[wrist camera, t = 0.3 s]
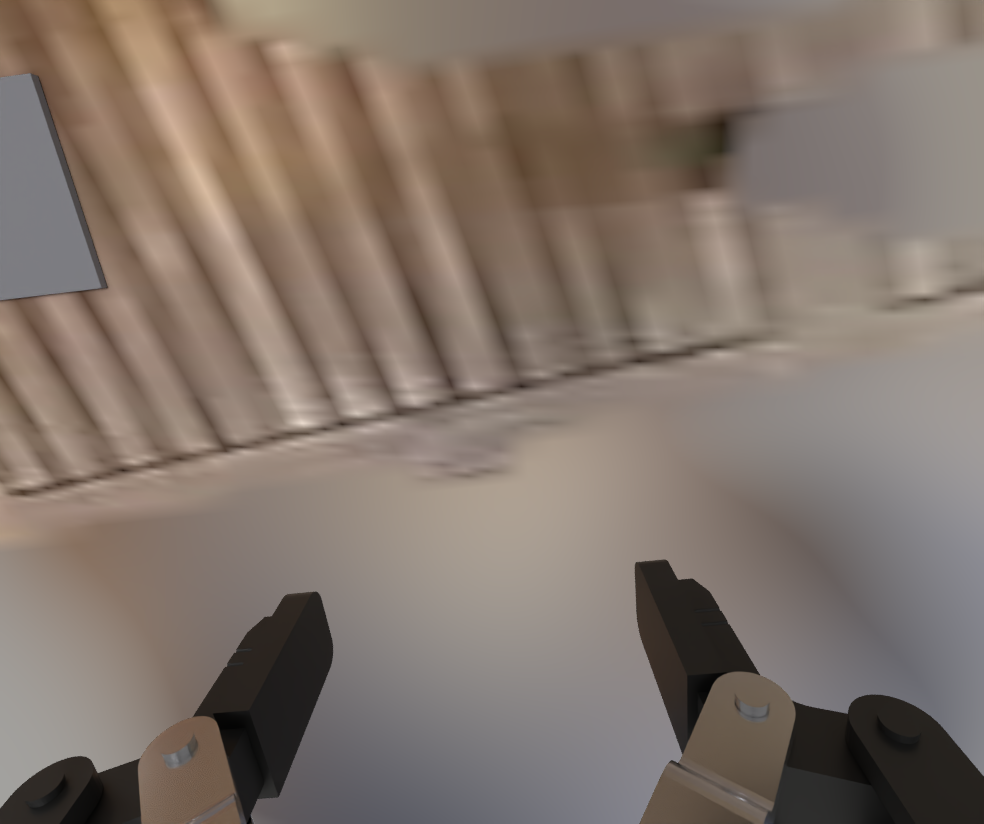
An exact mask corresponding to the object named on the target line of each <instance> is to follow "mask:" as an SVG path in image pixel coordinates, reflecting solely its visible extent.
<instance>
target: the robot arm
mask: <svg viewBox="0 0 984 824" xmlns="http://www.w3.org/2000/svg"><path fill="white" fill-rule="evenodd" d="M635 584H636V585H635V587H636V609H637V610H636V612H637V622H638V628H639V633H640V636H641V640H642V643H643V646H644V649H645V651H646V654H647V657H648V660H649V663H650V665H651V668H652V671H653V674H654V676H655V679H656V682H657V685H658V688H659V690H660V693H661V696H662V699H663V701H664V704H665V707H666V710H667V713H668V715H669V718H670V721H671V724H672V726H673V729H674V732H675V735H676V738H677V741H678V743H679V746H680V749H681V752H682V754H683V755H682V757H681V759H680V761H679V762H678V763H676V762H675V761H670V762H669V763H668V764H667V765H666V767H665V769H664V771H663V773H662V775H661V777H660V779H659V781H658V784H657V786H656V788H655V790H654V792H653V795H652V797H651V799H650V801H649V803H648V806H647V808H646V810H645V812H644V814H643V817H642V819H641V821H640V824H984V776H983V775H982V774H981V773H980V772H979V771H978V769H977V768H976V767H975V766H974V765H973V763H972V762H971V761H970V760H969V758H968V757H967V756H966V755H965V754H964V753H963V751H962V750H961V749H960V748H959V747H958V746H957V744H956V743H955V742H954V741H953V740H952V738H951V737H950V736H949V735H948V734H947V732H946V731H945V730H944V729H943V728H942V727H941V726H940V724H938V722H937V721H935V720H934V719H933V718H932V717H931V716H929V715H928V714H927V713H925V712H924V711H922V710H921V709H919V708H917V707H915V706H914V705H912V704H909V703H907V702H905V701H902V700H900V699H897V698H893V697H889V696H884V695H865V696H862V697H859V698H857V699H855V700H854V701H853V702H852V703H851V705H850V707H849V710H848V714H845V713H840V712H834V711H830V710H824V709H819V708H814V707H809V706H805V705H802V704H799V703H796V702H794V701H792V700H791V699H790V697H789V696H788V694H787V693H786V692H785V691H784V690H783V689H782V688H781V687H780V686H778V685H777V684H776V683H774V682H773V681H771V680H769V679H767V678H765V677H763V676H760V674H759V672H758V671H757V669H756V667H755V666H754V664H753V662H752V661H751V659H750V658H749V656H748V654H747V653H746V651H745V649H744V648H743V646H742V644H741V643H740V641H739V640H738V638H737V636H736V634H735V633H734V631H733V629H732V628H731V626H730V625H729V624H728V622H727V620H726V618H725V616H724V615H723V613H722V611H720V609H719V606H718V605H717V603H716V601H715V600H714V598H713V596H712V595H711V593H710V592H709V591H708V590H707V589H706V588H704V587H703V586H702V585H700V584H699V583H698V582H696V581H695V580H694V579H682V580H678V579H677V577H676V575H675V574H674V572H673V570H672V568H671V566H670V564H669V562H668V561H667V560H655V561H645V562H636V564H635ZM332 658H333V643H332V638H331V633H330V630H329V626H328V622H327V618H326V615H325V611H324V607H323V603H322V600H321V596H320V595H319V593H318V592H306V593H297V594H287V595H285V596H284V598H283V599H282V601H281V602H280V604H279V606H278V607H277V609H276V611H275V612H274V614H273V615H272V616H271V617H264V618H263V619H262V620H261V621H260V622H259V623H258V624H257V625H256V626H254V627H253V628H252V629H251V630H250V631H249V632H248V633H247V634H246V635H245V637H244V639H243V640H242V642H241V643H240V645H239V646H238V648H237V651H236V653H234V654H233V656H232V657H231V659H230V660H229V662H228V663H227V667H225V668H224V669H223V671H222V673H221V674H220V676H219V677H218V679H217V680H216V682H215V683H214V685H213V686H212V688H211V690H210V691H209V693H208V694H207V696H206V697H205V699H204V700H203V702H202V703H201V705H200V706H199V708H198V710H197V711H196V713H195V714H194V716H193V717H192V718H188V719H186V720H183V721H181V722H179V723H176V724H175V725H173V726H171V727H169V728H168V729H166V730H165V731H164V732H162V733H161V734H160V735H159V736H157V737H156V738H155V739H154V740H153V741H152V742H151V743H150V745H149V746H148V747H147V748H146V750H145V751H144V753H143V755H142V756H141V758H140V759H137V760H134V761H132V762H129V763H126V764H123V765H120V766H118V767H114V768H112V769H109V770H106V771H103V772H100V773H97V771H96V769H95V767H94V765H93V763H92V761H91V760H90V759H89V758H87V757H82V756H78V757H71V758H67V759H64V760H61V761H58V762H56V763H54V764H52V765H50V766H48V767H46V768H44V769H43V770H41V771H39V772H38V773H36V774H35V775H34V776H32V777H31V778H29V779H28V780H27V781H26V782H25V783H23V784H22V785H21V786H20V787H19V788H18V789H17V790H16V791H15V792H14V793H13V794H12V795H11V796H10V798H9V799H8V800H7V801H6V802H5V803H4V805H3V806H2V807H1V808H0V824H254V822H253V819H252V816H251V812H252V810H253V808H254V806H255V804H256V801H257V799H262V798H275V797H279V795H280V792H281V790H282V788H283V785H284V783H285V780H286V778H287V775H288V772H289V770H290V767H291V765H292V762H293V760H294V758H295V755H296V753H297V750H298V747H299V745H300V742H301V740H302V737H303V735H304V732H305V730H306V727H307V725H308V722H309V720H310V717H311V715H312V712H313V710H314V707H315V705H316V702H317V700H318V697H319V695H320V692H321V690H322V687H323V685H324V682H325V680H326V677H327V675H328V672H329V670H330V667H331V664H332Z"/></svg>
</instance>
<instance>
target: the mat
mask: <svg viewBox="0 0 984 824" xmlns="http://www.w3.org/2000/svg"><path fill="white" fill-rule="evenodd" d="M98 288H107V285H106V282H105V279H104V276H103V273H102V270H101V266H100V263H99V260H98V257H97V254H96V251H95V248H94V245H93V242H92V239H91V236H90V233H89V230H88V227H87V224H86V221H85V218H84V215H83V212H82V209H81V206H80V203H79V200H78V197H77V193H76V190H75V187H74V184H73V181H72V178H71V175H70V172H69V169H68V166H67V163H66V160H65V157H64V154H63V151H62V148H61V145H60V142H59V139H58V136H57V133H56V130H55V127H54V124H53V120H52V117H51V114H50V111H49V108H48V105H47V102H46V99H45V96H44V93H43V90H42V87H41V84H40V81H39V78H38V76H36V75H33V74H31V73H29V74H22V75H15V76H8V77H1V78H0V300H7V299H15V298H23V297H32V296H40V295H48V294H57V293H65V292H73V291H82V290H90V289H98Z"/></svg>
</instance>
